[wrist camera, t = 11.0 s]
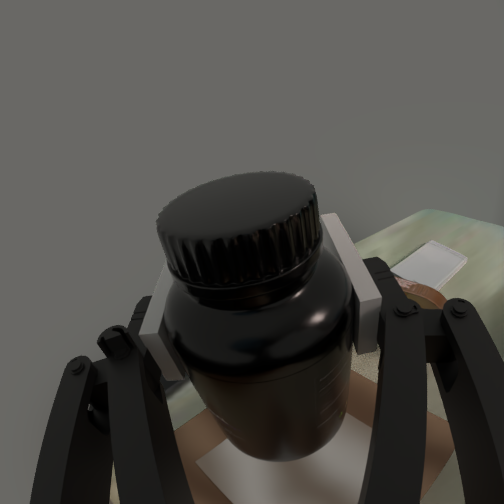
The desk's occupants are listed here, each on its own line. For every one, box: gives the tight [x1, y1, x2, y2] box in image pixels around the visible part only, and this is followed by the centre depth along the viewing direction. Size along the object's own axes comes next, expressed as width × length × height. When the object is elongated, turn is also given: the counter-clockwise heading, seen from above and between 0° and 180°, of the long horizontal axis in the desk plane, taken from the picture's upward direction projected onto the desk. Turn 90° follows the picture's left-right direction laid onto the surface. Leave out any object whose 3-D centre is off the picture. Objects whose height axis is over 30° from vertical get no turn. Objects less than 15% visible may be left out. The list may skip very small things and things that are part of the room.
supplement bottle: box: [156, 171, 354, 462], centre depth 12 cm, size 7×7×12 cm
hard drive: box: [390, 240, 468, 291], centre depth 43 cm, size 2×8×12 cm
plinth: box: [174, 370, 455, 504], centre depth 21 cm, size 20×20×5 cm
